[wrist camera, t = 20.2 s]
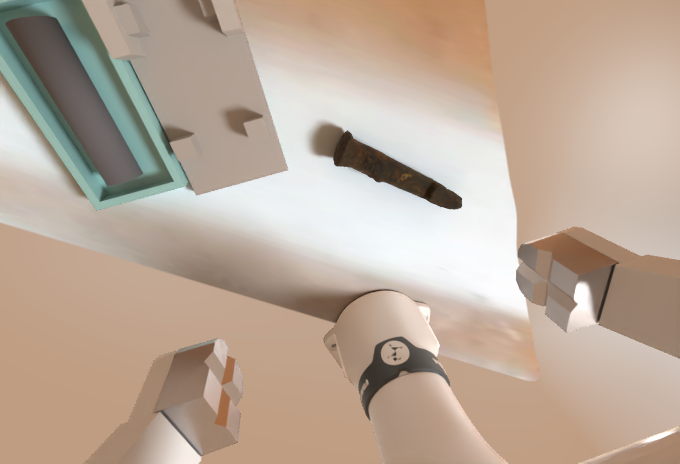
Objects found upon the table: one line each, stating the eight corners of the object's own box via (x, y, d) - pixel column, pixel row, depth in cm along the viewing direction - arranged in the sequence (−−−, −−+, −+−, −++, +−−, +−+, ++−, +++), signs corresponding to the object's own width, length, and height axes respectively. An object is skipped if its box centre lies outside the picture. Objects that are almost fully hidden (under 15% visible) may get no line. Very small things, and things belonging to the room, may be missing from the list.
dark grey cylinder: (150, 170, 33) (128, 182, 30) (123, 176, 34) (99, 188, 31) (67, 18, 26) (28, 13, 23) (35, 28, 27) (-7, 25, 24)
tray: (190, 179, 35) (184, 186, 33) (108, 201, 35) (96, 210, 33) (93, -20, 26) (76, -29, 24) (-21, 6, 26) (-49, -1, 24)
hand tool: (327, 157, 38) (334, 168, 34) (343, 127, 36) (351, 134, 32) (439, 213, 45) (456, 227, 41) (455, 190, 43) (474, 202, 39)
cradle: (287, 167, 37) (289, 179, 33) (198, 192, 36) (188, 207, 32) (211, -73, 26) (199, -101, 22) (83, -45, 26) (46, -69, 21)
